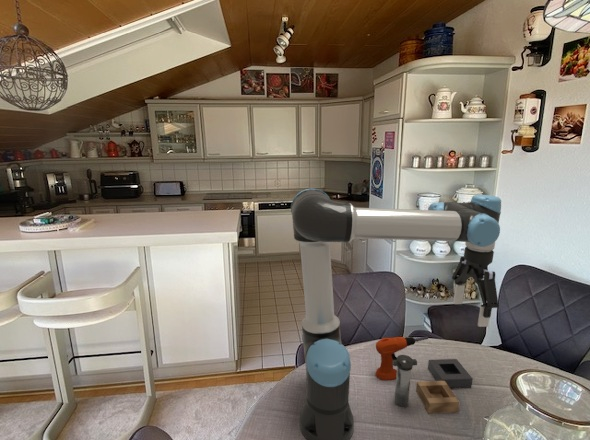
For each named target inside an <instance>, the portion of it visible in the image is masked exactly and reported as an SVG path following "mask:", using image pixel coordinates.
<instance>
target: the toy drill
mask: <svg viewBox="0 0 590 440" xmlns="http://www.w3.org/2000/svg"><path fill="white" fill-rule="evenodd" d="M428 339H429V337H428V336H422V337H413V336H409V337H405V336H396V337H383V338H381V339H378V341H377V342H376V343H375V350H376V351H377V353H378V354H380V361H381V362H380V365H379V367H378V368H376V371H375V376H376V378H377V379H379V380H381V381H394V380H395V381H396V375H397V368H394V366H393V364H392V361H393V360H397V357H398V356H396V354H395V353H397V352H400V351H402V350H405V349H407V347H409V346H412V345H415V344H416V342H421V341H425V340H426V341H427V340H428Z"/></svg>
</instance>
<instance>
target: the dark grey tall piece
mask: <svg viewBox="0 0 590 440" xmlns="http://www.w3.org/2000/svg"><path fill="white" fill-rule="evenodd" d="M396 357H397V360H393V361H392V364H393V367H396V370H397V375H396V379H395V389H394V398H393V399H394V401H393V402H394V404H395V405H396V406H397V407H398V408H402V409H404V408H408V406H409V398H410V388H411V387H410V385H411V378H412V377H411V375H412V370H413V368H414V367H413V366H417V365H418V360H417V359H416V358H413V357H411V356H409V355H406V354H399V355H397V356H396Z"/></svg>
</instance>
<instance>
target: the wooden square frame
mask: <svg viewBox="0 0 590 440" xmlns="http://www.w3.org/2000/svg"><path fill="white" fill-rule="evenodd" d="M415 389H416V390H415V392H416V394H417V395H418V397H419V399H420V401H421V403H422V405H423V407H424V408H425V410H426V412H427V413H428V414H439V413H441V414H442V413H444V414H445V413H458V412H459V408H460V400H459V399H458V397H457V396H456V395H455V393H454V392H453V390H452V389H450V388H449V386H448V385H447V383H446V382H445V381H436V380H427V381H425V380H424V381H416V388H415Z"/></svg>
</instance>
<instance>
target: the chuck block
mask: <svg viewBox="0 0 590 440" xmlns="http://www.w3.org/2000/svg"><path fill="white" fill-rule="evenodd" d="M427 362H428V363H427V370H428V371H429V372H430V374H431V376H432V377H433V379H434V381H445V382H446V383H447V385H448V386H449V388H450V389H451V390H453V389H472V387H473V380H474V379H473V377H472V375H470V373H469V372H468V371H467V369H466V368H465V367H464V366H463V364H461V363H460V361H459V360H458V359H457V358H444V359H443V358H442V359H440V358H439V359H428V361H427Z"/></svg>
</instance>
